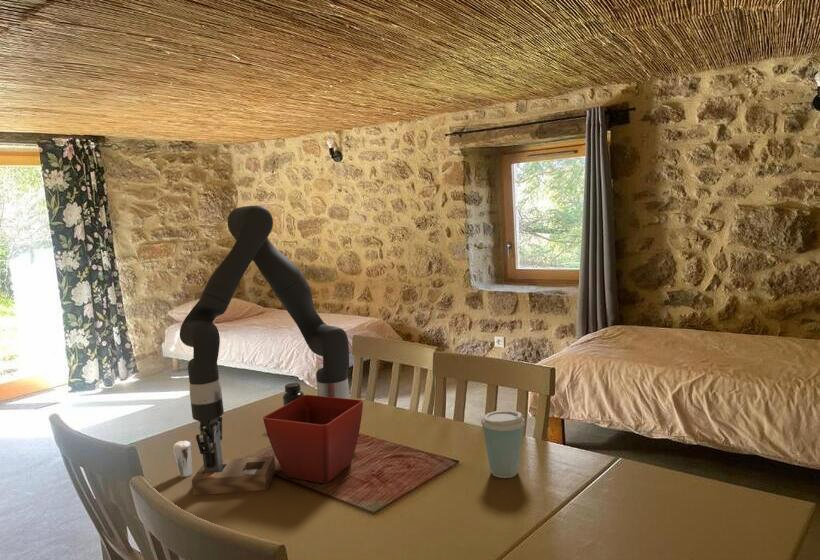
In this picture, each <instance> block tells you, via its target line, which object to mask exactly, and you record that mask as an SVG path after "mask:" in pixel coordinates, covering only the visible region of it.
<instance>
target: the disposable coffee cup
mask: <svg viewBox="0 0 820 560" xmlns="http://www.w3.org/2000/svg"><path fill="white" fill-rule="evenodd" d="M480 424H481V426H482V432H483V436H484V442H485V447H486V453H487V459H488V463H489V469H490V472H491V474H492V476H494V477H496V478H499V479H500V478H501V479H510V478H513V477H515V476H517V475H518V472H519V469H520V458H521V452H522V451H521V449H522V442H523V434H524V426H525V425H526V423H525V419H524V417H523V414H522V413H521V412H520V411H515V410H505V409H504V410H495V411H491V412H489V413H486V414H484V415H483V416H482V418H481V422H480Z"/></svg>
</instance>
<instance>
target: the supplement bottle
mask: <svg viewBox="0 0 820 560" xmlns="http://www.w3.org/2000/svg"><path fill="white" fill-rule="evenodd" d="M301 390H302V388H301V384H300V383H299V382H291V383H286V384H285V385H284V392H285V393H283V395H282V403H283V406H285V405H286V404H288V403H290V402H292V401H294V400H296V399H298V398H299V397H301V396H304V395H305V393H304V392H303V391H301Z"/></svg>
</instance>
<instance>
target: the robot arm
mask: <svg viewBox="0 0 820 560" xmlns="http://www.w3.org/2000/svg"><path fill="white" fill-rule="evenodd" d="M227 216H228V217H227V228H228V231H229V232H230V234H231V236H232V237H233V239H234V240H235V242H234V245H233V246H232V247H231V250H230V251H229V252H228V254H227V255H226V257H225V258H224V259H223V260H222V261H221V262H220V264H219V265H218V266H217V268H215V270H213V273H212V274H211V276H210V277H209V279H208V281H207V282H206V285H205V287H204V288H203V291H202V292H201V295H200V298H199V300H198V301H197V302H196V304H195V305H194V306H193V307H192V309H191V310H190V311H189V313H187V315H186V316H185V319H184V320H183V321H182V324H181V326H180V329H179V338H180V341H181V342H182V343H183V344H184V345H185V346H187V347H191V348H193V353H192V354H193V355H192V357H193V358H191V359H190V360H189V361H188V363H187V371H188V382H189V399H190V400H189V401H190V407H191V416H192V417H191V418H192V419H193V420H194V421H198V422H199V426H198V429H199V434H196V435H195V439H196V442H197V443H196V444H197V445H198V446H197V447H198V449H199V453H200V455H203V454H205V461H206V467H207V468H214V467H215V465H216V463H215V454H214V443H215V442H216V441H215V436H216V432H220V441H222V439H223V417H222V416H223V415H224V403H223V392H222V385H221V382H220V375H219V367H218V359H219V353H220V345H221V344H220V342H221V340H220V339H221V336H220V332H219V329H218V327H217V325H216V324H214V321H215V320H216V318H217V317H218V316H223V315H224V314H225V313H226V312H227V309H228V307H229V306H230V304H231V301H232V298H233V297H234V295H235V293H236V291H237V288H238V286H239V284H240V282H241V280H242V278H243V276H244V274H245V273H246V271H247V270H248V267H249V266H250V264H251V263H252V262H254V264H255V265H256V267H257V269H258V270H259V272H260V273H261V275H262V276H263V277H264V279H265V280H266V282H267V284H269V286H270V288H271V290H272V291H273V293H274V295H275V296H276V298H278V300H279V302H280V303H281V304H282V306H283V307H284V308H285V310H286V311H287V313H288V314H289V316H290V317H291V319H292V320H293V321H294V322H295V324H296V326H297V327H298V329H299V331H300V333H301V335H302V336H303V339H304V341H305V343H306V344H307V346H308V348H309V349H310V351H311V352H312V353H313V354H315V355H317V356H320V357H322V367H321V368H319V369H317V370H316V373H315V377H316V378H315V380H316V388H317V390H316V391H317V396H324V397H335V398H345V399H351V398H350V389H349V388H350V387H349V377H348V372H349V370H350V369H349V368H350V347H349V346H350V345H349V338H348V335H347V333H346V331H345V330H344V329H343V328H342V327H338V326H334V325H328V324H326V323H325V321H324V320H323V319H322V317H321V316H320V315H319V314H318V312H317V311H316V309H315V306H314V300H313V294H312V289H311V287H310V284H309V282H308V281H307V279H306V278H305V276H304V275H303V273H302V272H301V270H300V269H299V267H297V265H295V263H294V262H292V260H291V259H289V258H288V257H287V256H285V255H284V254H283V253H282V252H281V251H279V250H278V249H277V247H275V246H274V245H273V244H272V242H271V240H270V239H269V238H268V237H269V236H270V234H271V232H272V230H273V227H274V218H273V216H272V213H271V212H270V211H269V209H268V208H266V207H264V206H261V205H247V206H240V207H236V208H234V209H232V211H230V213H229V214H228V215H227ZM209 439H212V441H209ZM206 448H207V449H206Z"/></svg>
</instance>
